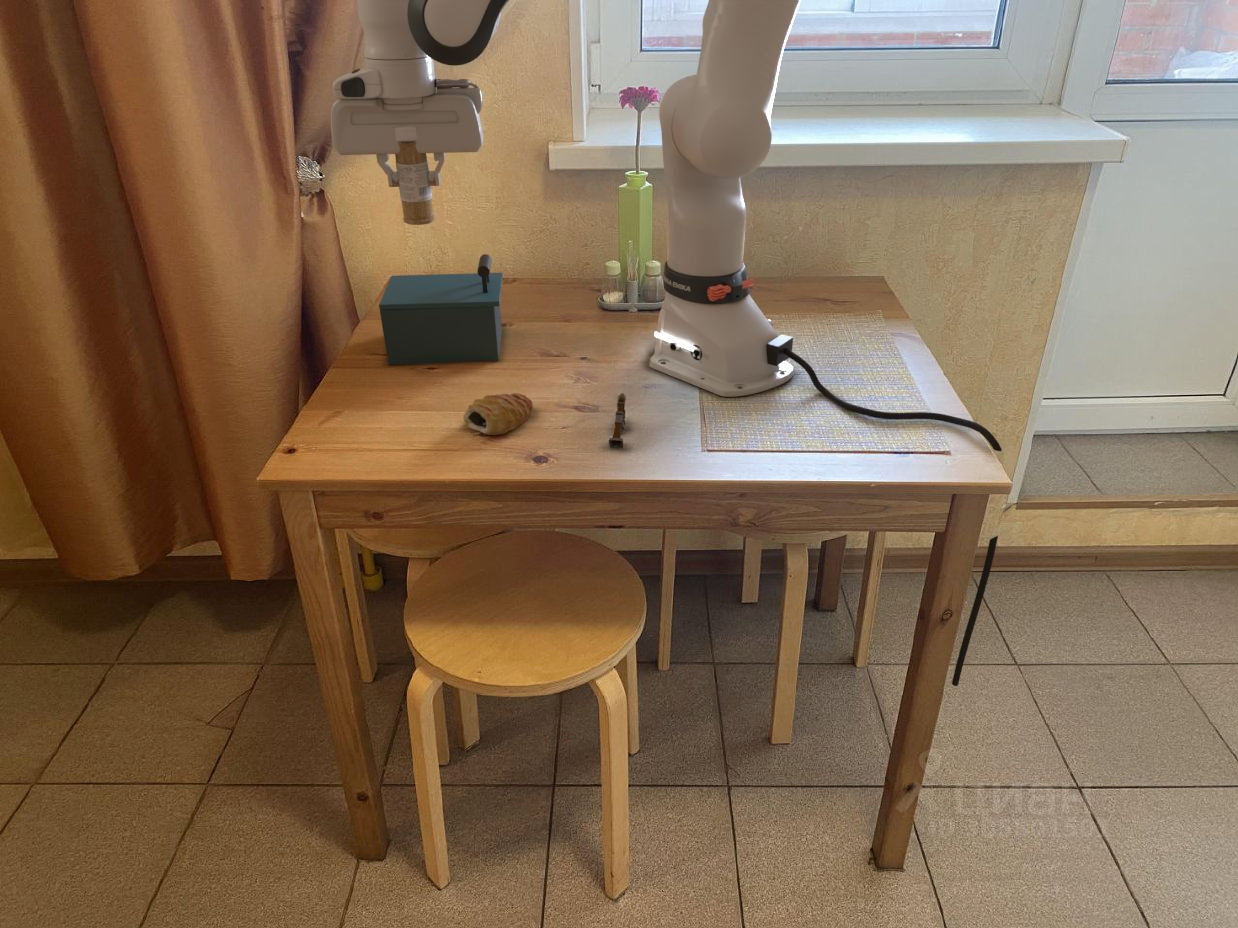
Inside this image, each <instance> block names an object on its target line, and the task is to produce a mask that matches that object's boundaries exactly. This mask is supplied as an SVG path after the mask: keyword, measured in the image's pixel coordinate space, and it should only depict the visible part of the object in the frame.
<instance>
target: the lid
mask: <svg viewBox="0 0 1238 928" xmlns="http://www.w3.org/2000/svg"><path fill="white" fill-rule="evenodd" d="M491 267H492V257H491V255H489V254H487V253H484V254H482V255H481V256H480V257H479V260H478V265H477V272H476V273H473V272H472V273H445V274H444V273H441V274H437V273H435V274H402V275H401V274H400V275H391V276H390V278H389V281H388V282H387V286H386V288H385V290H384V292H383V294H382V297H381V300H380V302H379V304H378V308H379V311H380V310H387V309H422V308H457V307H491V306H500V307H501V296H502V288H503V281H504V280H503V278H504V274H503V272H491Z"/></svg>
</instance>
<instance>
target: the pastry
mask: <svg viewBox="0 0 1238 928" xmlns="http://www.w3.org/2000/svg"><path fill="white" fill-rule="evenodd" d="M533 412H534V405H533V401H532V399H530V398H528V397H527V396H526V395H525V394H523V393H518V392H517V393H516V392H514V393H510V394H509V393H501V394H492V395H490V394H488V395H485V396H483V398H478V399H474V401H473V402H472V404H468V406H467V409H466V410H465V411H464V414H463V421H464V422H465V424H466V426H467V427H468V429H471V430H473V431H476V432H480V433H482V434H484V435H487V436H500V435H503V434H506V433H507V432H508V431H510V430H512V431H513V430H515V429H517V428H518V427H519V426H521V425H523V423H526V421H527V420H529V418H530V417H531V416H532V414H533Z"/></svg>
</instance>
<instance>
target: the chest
mask: <svg viewBox="0 0 1238 928" xmlns="http://www.w3.org/2000/svg"><path fill="white" fill-rule="evenodd" d="M379 314H380V320H381V327H382V334H383V340H384V346H385V352H386V360H387V365H388V366H399V365H400V366H401V365H402V366H403V365H427V364H429V365H430V364H454V363H455V364H456V363H460V364H461V363H483V362H485V363H487V362H500V361H499V360H500V351H501V343H502V342H501V341H502V333H503V326H502V325H503V324H502V313H501V305H500V306H491V307H457V308H422V309H387V310H380V309H379Z"/></svg>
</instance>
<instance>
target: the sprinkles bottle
mask: <svg viewBox="0 0 1238 928" xmlns="http://www.w3.org/2000/svg"><path fill="white" fill-rule="evenodd" d="M395 137H396V141H399V142H398V144H399V146H400V152H399V153H398V154H394V157H395V168H396V172H397V174H398V182H399V187H398V190H399V197H400V201H401V207H402V214H403V218H402V220H403V223H404V224H407V225H411V226H422V225H429V224H431V223H433V222H434V221H435V219H436V217H435V215H434V214H435V213H434V206H433V200H432V199H433V193H432V186H429V179H428V173H429V171H430V168H429V161H428V157H427V153H418V152H417V149H416V147H415V146H416V143H415V142H414V141H416V140H417V132H416V128H415V127H413V126H404V127H396V128H395Z"/></svg>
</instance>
